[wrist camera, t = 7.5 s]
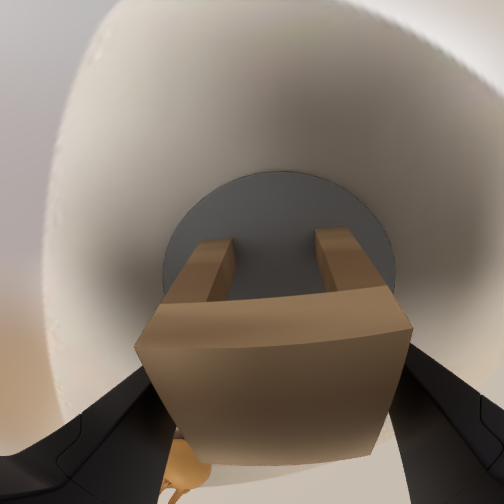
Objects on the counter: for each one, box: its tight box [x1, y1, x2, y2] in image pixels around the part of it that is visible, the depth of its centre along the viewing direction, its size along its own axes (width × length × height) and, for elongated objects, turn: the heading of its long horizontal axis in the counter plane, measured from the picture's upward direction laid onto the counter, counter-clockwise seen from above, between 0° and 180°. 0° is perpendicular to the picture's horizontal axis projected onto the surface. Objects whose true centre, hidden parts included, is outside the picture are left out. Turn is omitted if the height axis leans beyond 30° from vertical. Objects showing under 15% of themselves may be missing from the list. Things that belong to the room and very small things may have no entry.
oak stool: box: [134, 227, 413, 466], centre depth 8 cm, size 5×5×6 cm
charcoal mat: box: [163, 172, 395, 301], centre depth 11 cm, size 9×9×1 cm
